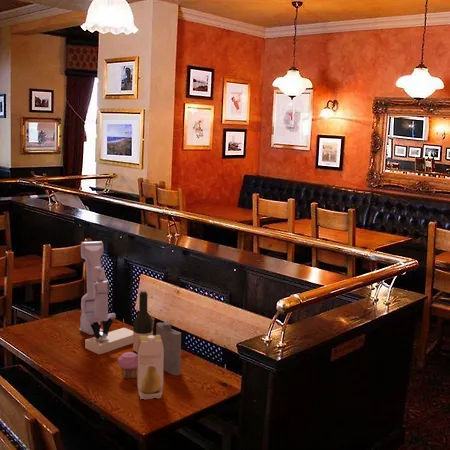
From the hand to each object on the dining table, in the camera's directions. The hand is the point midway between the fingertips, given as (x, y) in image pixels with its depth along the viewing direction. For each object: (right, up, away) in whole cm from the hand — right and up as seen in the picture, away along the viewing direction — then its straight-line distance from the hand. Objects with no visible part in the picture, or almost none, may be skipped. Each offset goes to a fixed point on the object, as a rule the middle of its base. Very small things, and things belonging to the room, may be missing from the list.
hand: (101, 336), depth 267 cm
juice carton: (+27, -15, -42) cm, 52 cm away
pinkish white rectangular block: (0, -5, +1) cm, 5 cm away
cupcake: (+17, -11, -26) cm, 33 cm away
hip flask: (+31, -10, -18) cm, 37 cm away
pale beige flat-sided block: (+4, -5, +6) cm, 8 cm away
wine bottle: (+20, -8, -8) cm, 23 cm away
